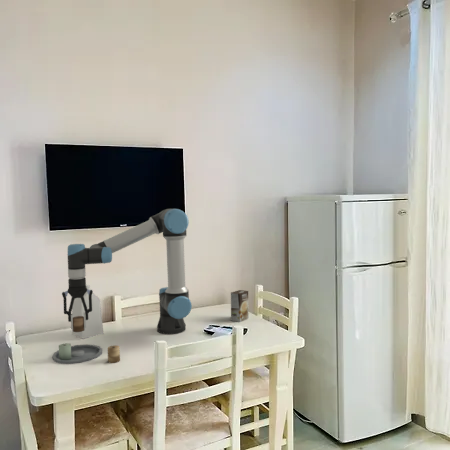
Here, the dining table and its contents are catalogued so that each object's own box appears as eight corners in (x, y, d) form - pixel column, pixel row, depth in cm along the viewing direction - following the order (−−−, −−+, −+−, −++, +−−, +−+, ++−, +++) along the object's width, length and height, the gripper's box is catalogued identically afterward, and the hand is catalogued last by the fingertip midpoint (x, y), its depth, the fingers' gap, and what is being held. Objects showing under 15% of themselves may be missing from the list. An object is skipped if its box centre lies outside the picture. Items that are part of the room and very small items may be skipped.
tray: (110, 348, 200) (110, 345, 200) (87, 366, 180) (87, 362, 180) (69, 346, 205) (69, 343, 204) (42, 363, 184) (42, 360, 184)
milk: (103, 333, 224) (101, 284, 222) (82, 339, 216) (80, 288, 214) (92, 329, 232) (90, 281, 231) (72, 334, 224) (69, 285, 223)
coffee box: (240, 322, 239) (239, 293, 238) (230, 320, 242) (230, 292, 241) (249, 318, 246) (248, 290, 245) (239, 316, 250) (239, 289, 249)
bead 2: (84, 331, 196) (84, 318, 195) (73, 332, 194) (72, 319, 194) (84, 328, 200) (83, 315, 200) (72, 329, 199) (72, 316, 198)
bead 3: (121, 359, 187) (121, 345, 187) (116, 363, 183) (116, 349, 182) (111, 358, 188) (110, 345, 188) (106, 362, 184) (105, 349, 183)
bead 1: (73, 356, 190) (73, 343, 189) (67, 361, 185) (66, 347, 184) (63, 356, 191) (62, 342, 190) (56, 360, 186) (56, 346, 185)
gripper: (96, 275, 202) (98, 323, 203) (56, 277, 196) (57, 327, 197) (97, 277, 195) (99, 327, 196) (55, 280, 189) (57, 332, 190)
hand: (78, 327), depth 197 cm, fingers closed on bead 2, 5 cm apart
